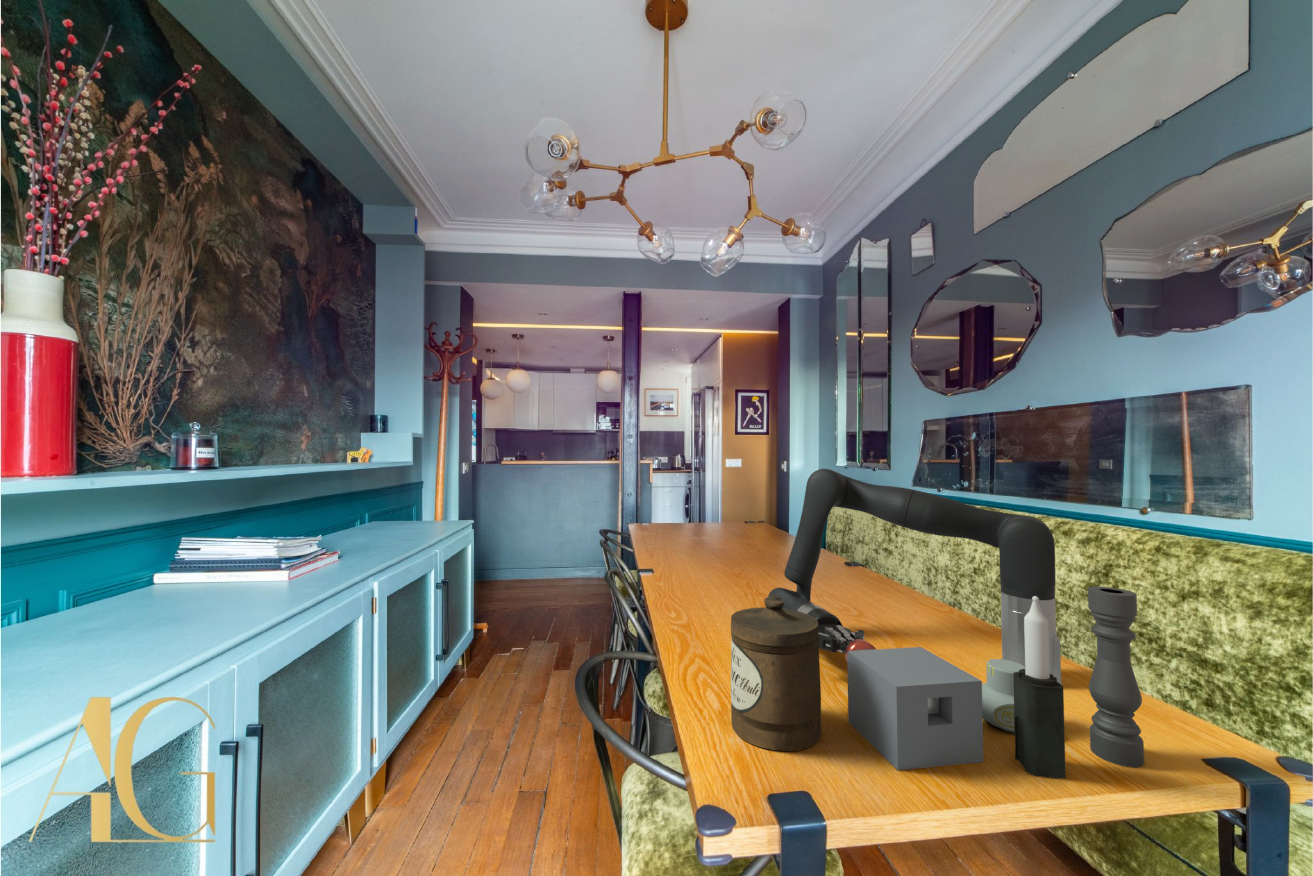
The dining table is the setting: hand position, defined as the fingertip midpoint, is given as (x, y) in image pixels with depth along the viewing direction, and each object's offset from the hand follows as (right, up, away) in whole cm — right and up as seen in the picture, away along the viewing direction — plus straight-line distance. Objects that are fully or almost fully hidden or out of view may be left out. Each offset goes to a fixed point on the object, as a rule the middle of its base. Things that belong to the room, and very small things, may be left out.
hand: (858, 653), depth 99 cm
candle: (+18, -7, -23) cm, 30 cm away
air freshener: (+22, -8, -10) cm, 25 cm away
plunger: (+2, -2, -10) cm, 10 cm away
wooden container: (-19, -8, -12) cm, 23 cm away
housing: (+2, -7, -16) cm, 17 cm away
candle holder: (+32, -8, -20) cm, 38 cm away
